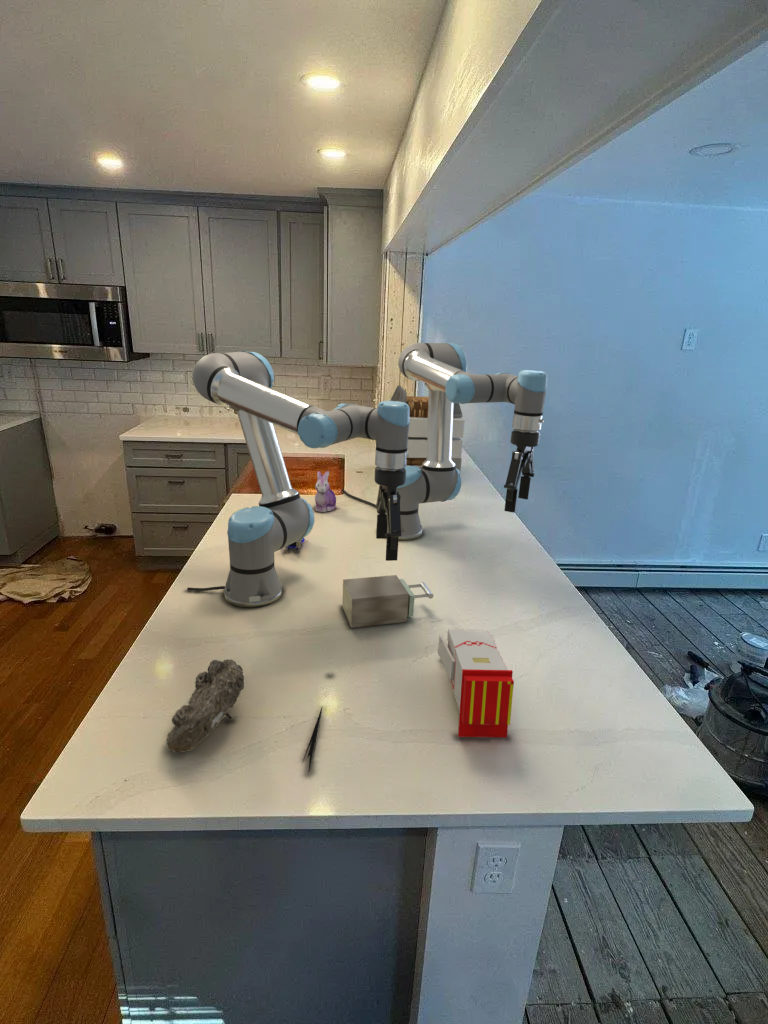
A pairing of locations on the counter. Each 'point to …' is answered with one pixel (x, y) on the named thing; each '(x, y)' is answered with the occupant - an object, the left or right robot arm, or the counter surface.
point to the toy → (478, 682)
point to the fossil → (206, 705)
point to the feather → (313, 740)
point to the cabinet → (375, 601)
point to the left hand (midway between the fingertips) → (386, 548)
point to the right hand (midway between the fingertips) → (516, 504)
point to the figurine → (324, 494)
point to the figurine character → (295, 545)
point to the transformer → (420, 429)
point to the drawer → (412, 596)
